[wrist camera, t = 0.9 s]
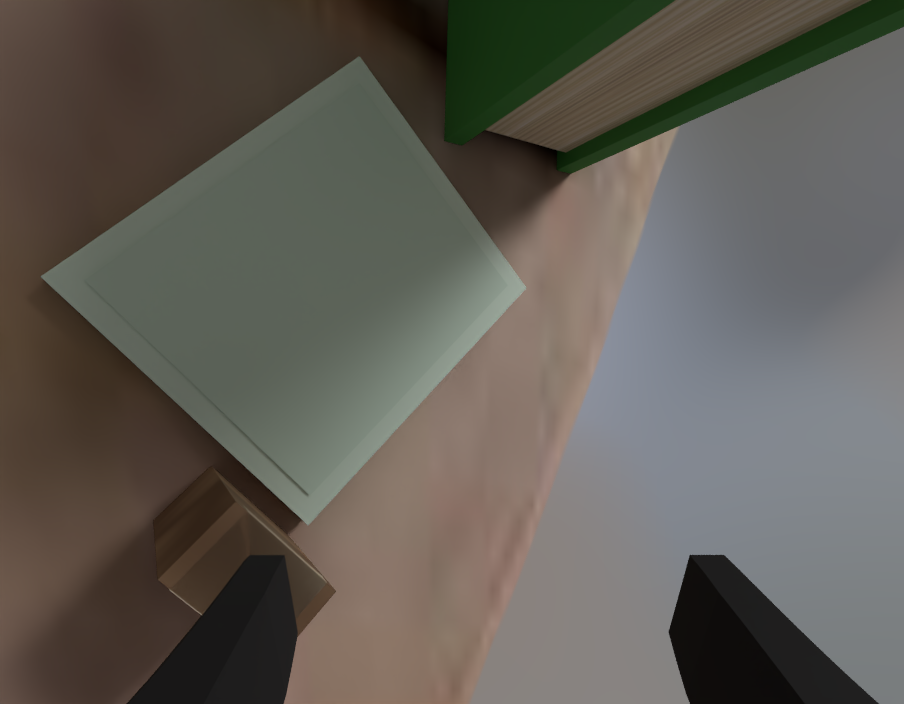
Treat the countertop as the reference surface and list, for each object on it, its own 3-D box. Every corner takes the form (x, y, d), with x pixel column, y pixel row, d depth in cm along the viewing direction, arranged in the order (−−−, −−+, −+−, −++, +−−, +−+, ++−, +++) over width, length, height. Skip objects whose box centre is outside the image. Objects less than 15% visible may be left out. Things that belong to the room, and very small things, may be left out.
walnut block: (237, 590, 20) (270, 668, 15) (152, 521, 19) (157, 580, 14) (288, 535, 21) (336, 590, 16) (211, 465, 20) (236, 500, 15)
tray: (302, 520, 21) (308, 526, 21) (44, 280, 18) (40, 276, 17) (516, 290, 27) (527, 287, 26) (352, 65, 23) (360, 55, 22)
